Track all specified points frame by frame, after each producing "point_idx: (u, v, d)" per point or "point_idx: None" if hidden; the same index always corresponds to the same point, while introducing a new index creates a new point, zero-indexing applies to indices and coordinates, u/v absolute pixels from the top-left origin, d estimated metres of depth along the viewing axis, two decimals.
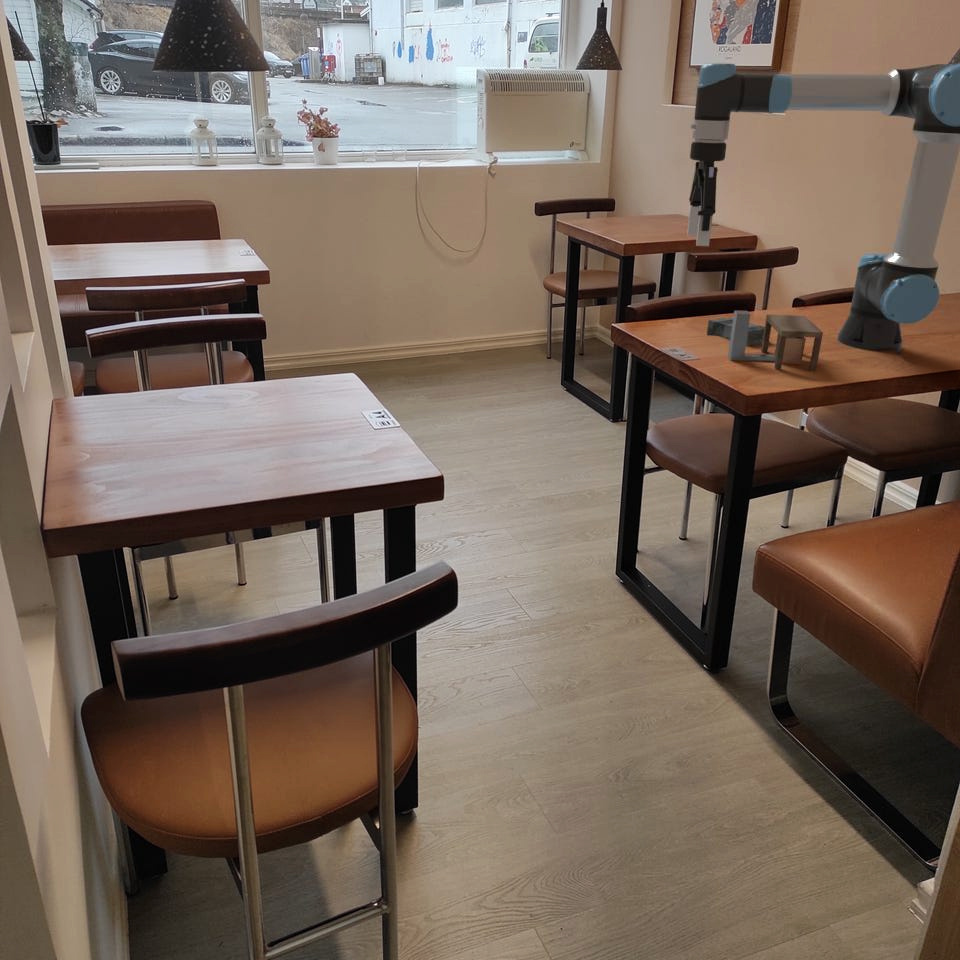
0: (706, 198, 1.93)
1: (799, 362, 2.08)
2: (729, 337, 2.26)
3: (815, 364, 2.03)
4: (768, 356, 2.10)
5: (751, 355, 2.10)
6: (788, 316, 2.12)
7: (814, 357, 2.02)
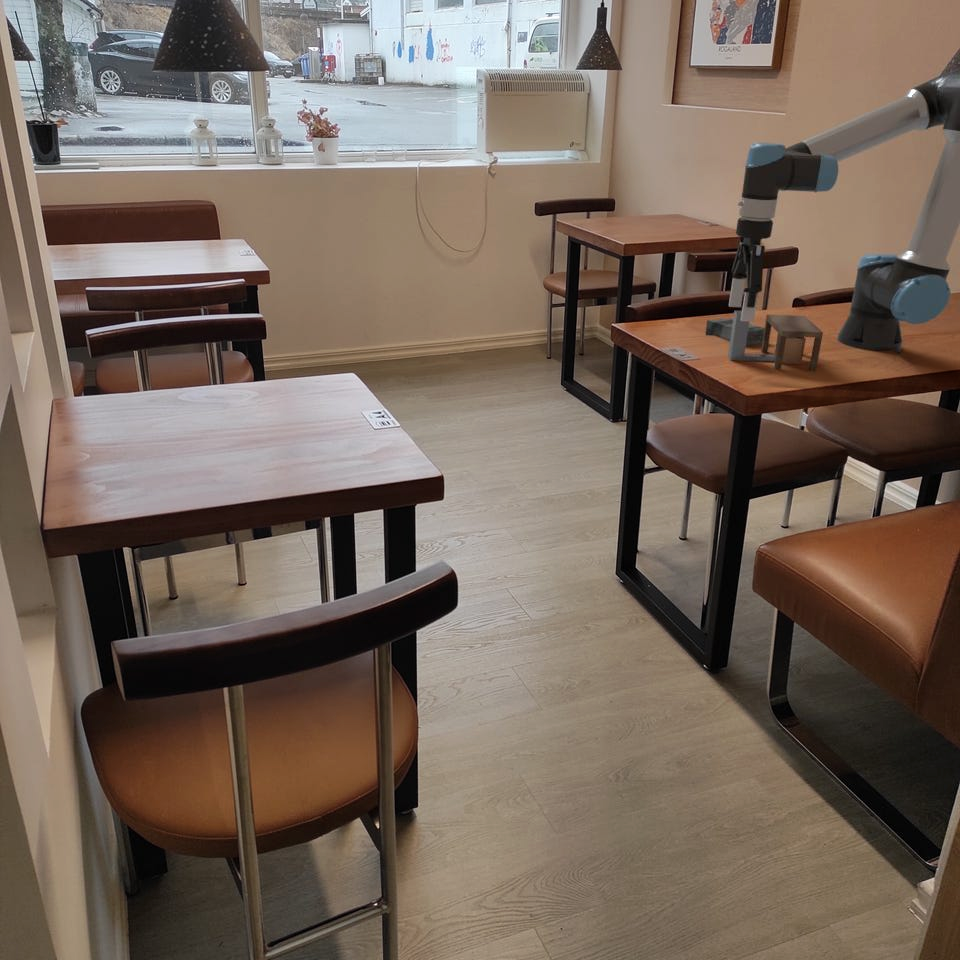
0: (753, 276, 1.94)
1: (799, 362, 2.08)
2: (727, 337, 2.25)
3: (815, 364, 2.03)
4: (768, 356, 2.10)
5: (751, 355, 2.10)
6: (788, 316, 2.12)
7: (814, 357, 2.02)
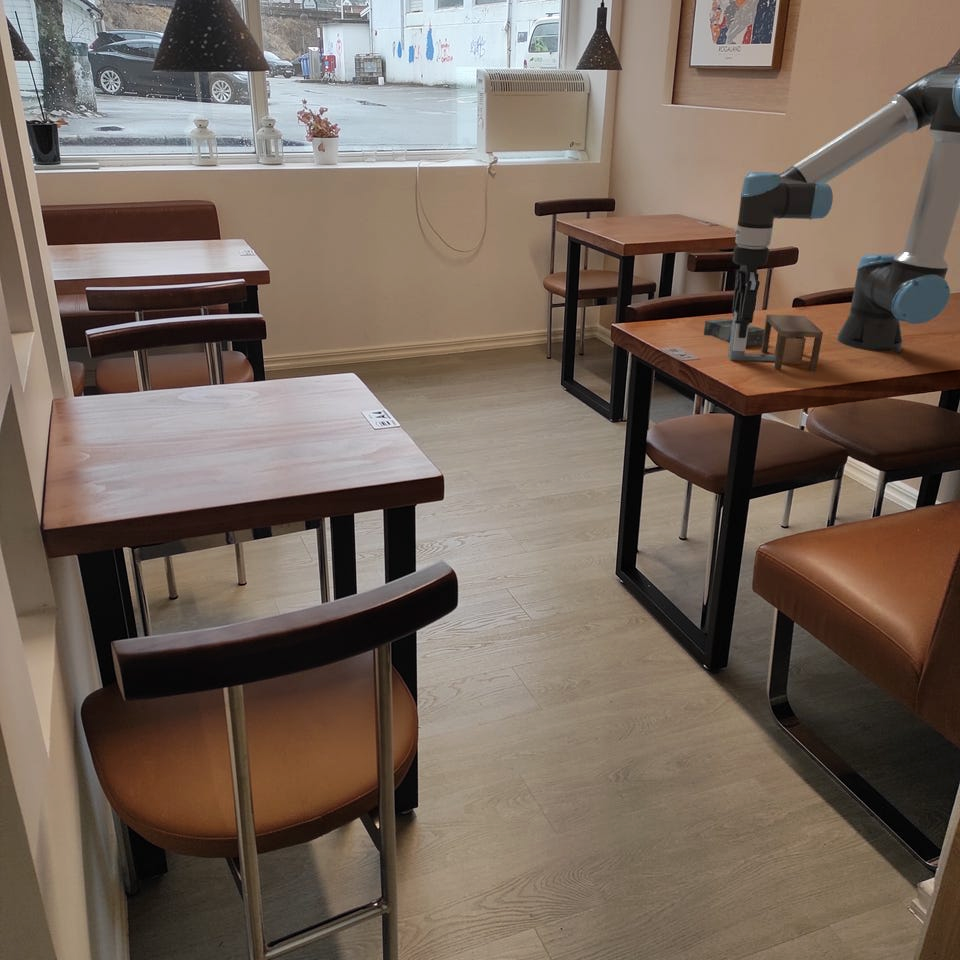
0: (745, 310, 2.01)
1: (799, 362, 2.08)
2: (724, 338, 2.25)
3: (815, 364, 2.03)
4: (768, 356, 2.10)
5: (751, 355, 2.10)
6: (788, 316, 2.12)
7: (814, 357, 2.02)
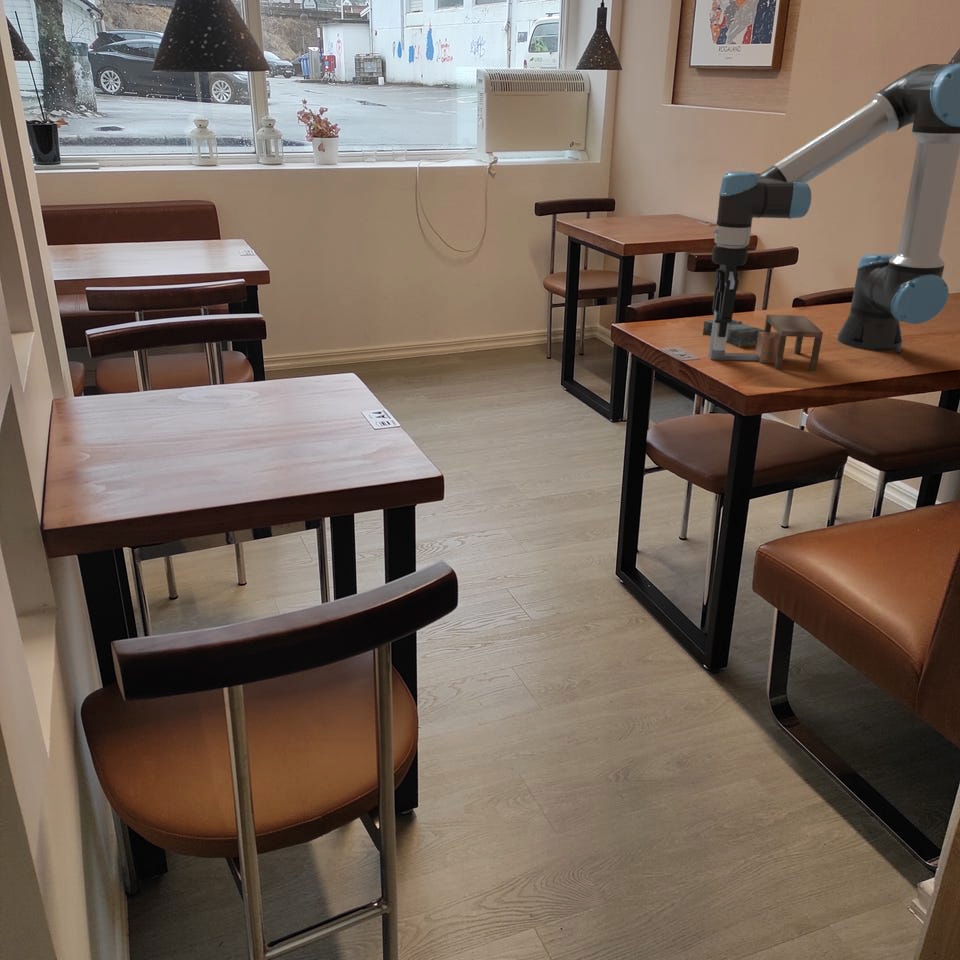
0: (724, 309, 2.01)
1: None
2: None
3: (815, 364, 2.03)
4: (748, 355, 2.10)
5: (731, 354, 2.10)
6: (788, 316, 2.12)
7: (814, 357, 2.02)
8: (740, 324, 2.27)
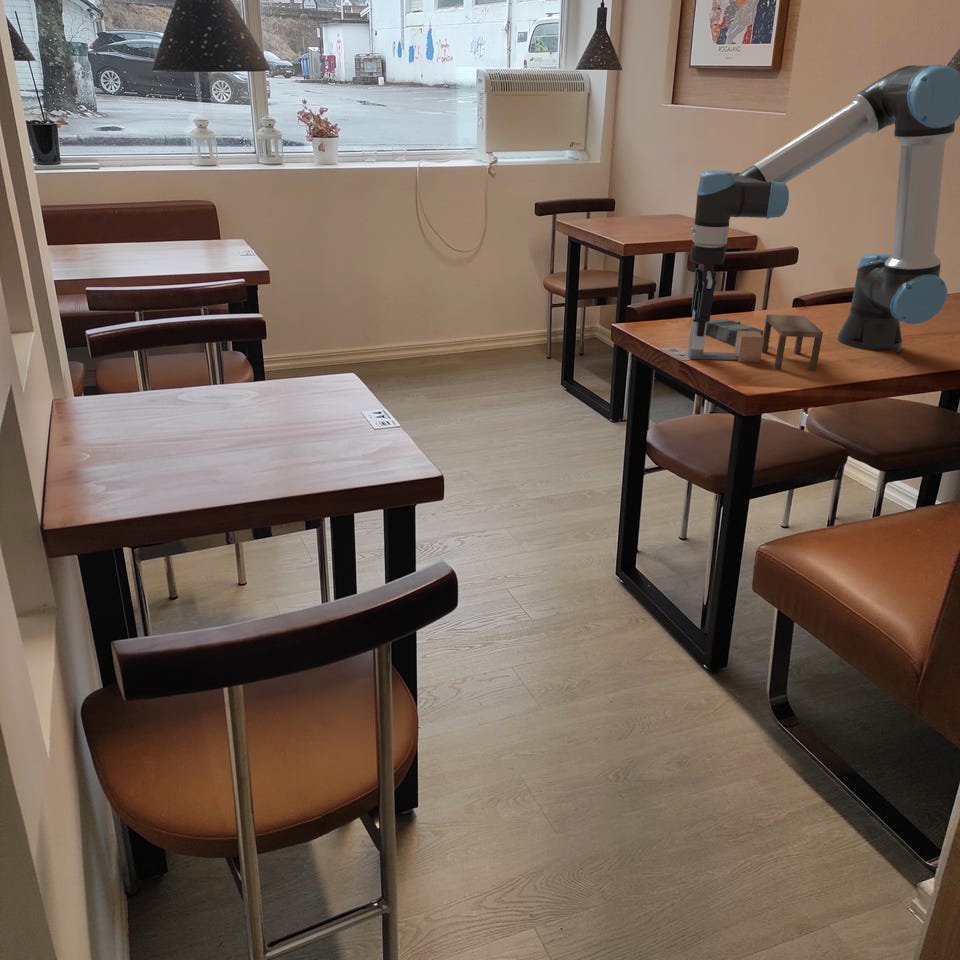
0: (702, 309, 2.01)
1: (758, 360, 2.08)
2: (722, 339, 2.24)
3: (815, 364, 2.03)
4: (727, 355, 2.10)
5: (710, 354, 2.10)
6: (788, 316, 2.12)
7: (814, 357, 2.02)
8: (739, 324, 2.27)
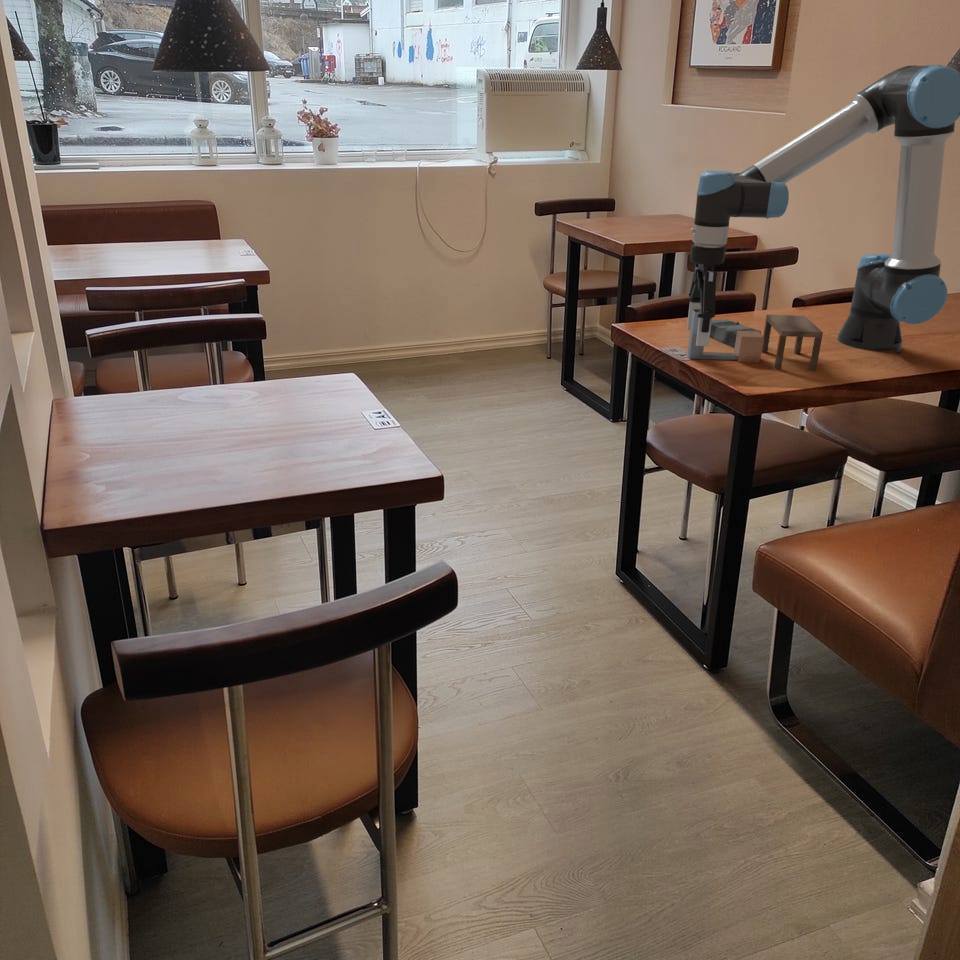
0: (706, 302, 1.97)
1: (757, 360, 2.08)
2: (720, 339, 2.24)
3: (815, 364, 2.03)
4: (727, 355, 2.10)
5: (710, 354, 2.10)
6: (788, 316, 2.12)
7: (814, 357, 2.02)
8: (737, 325, 2.26)
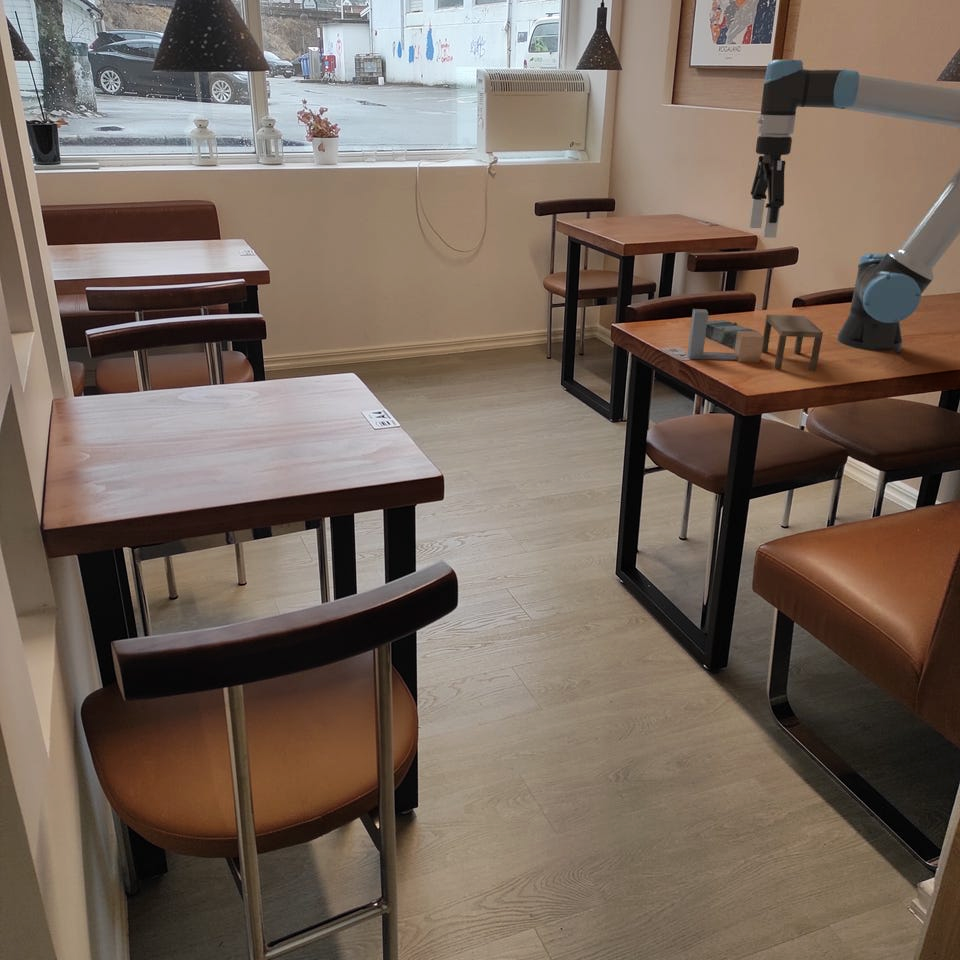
0: (775, 191, 1.98)
1: (757, 360, 2.08)
2: (718, 340, 2.23)
3: (815, 364, 2.03)
4: (727, 355, 2.10)
5: (710, 354, 2.10)
6: (788, 316, 2.12)
7: (814, 357, 2.02)
8: (735, 325, 2.26)
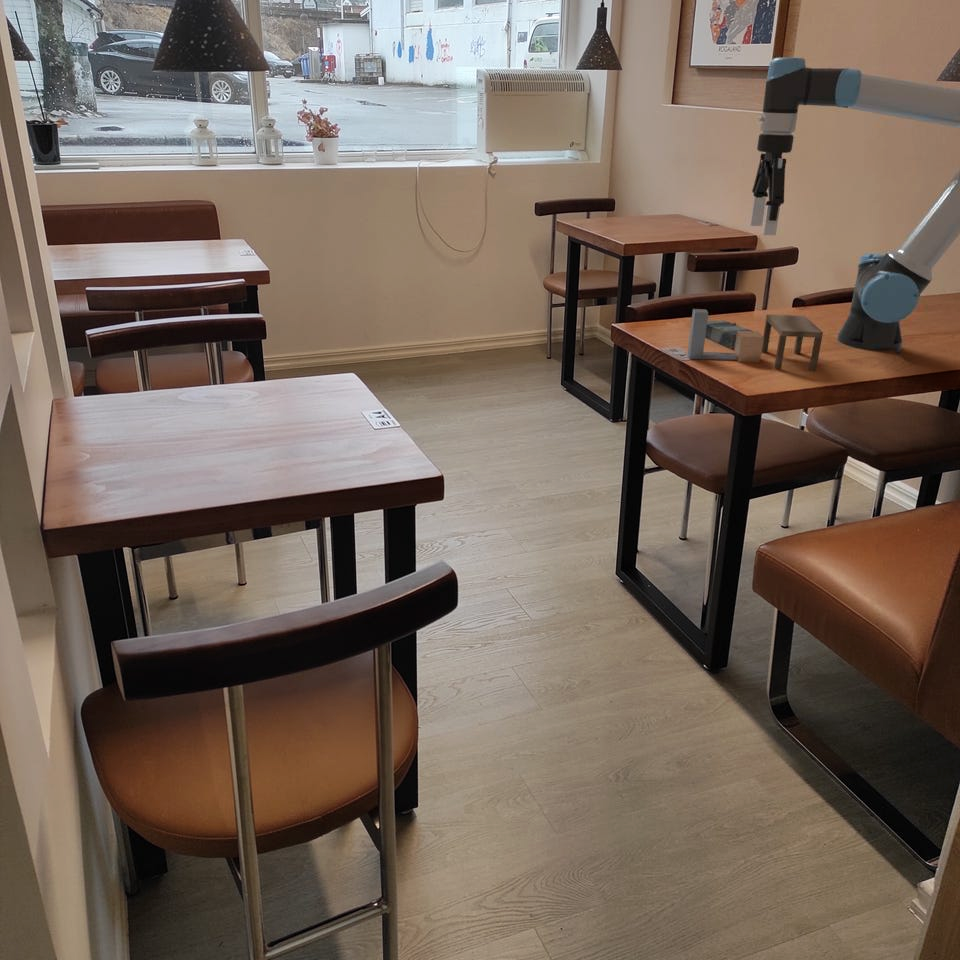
0: (775, 188, 1.99)
1: (757, 360, 2.08)
2: (716, 340, 2.23)
3: (815, 364, 2.03)
4: (727, 355, 2.10)
5: (710, 354, 2.10)
6: (788, 316, 2.12)
7: (814, 357, 2.02)
8: (734, 326, 2.25)
